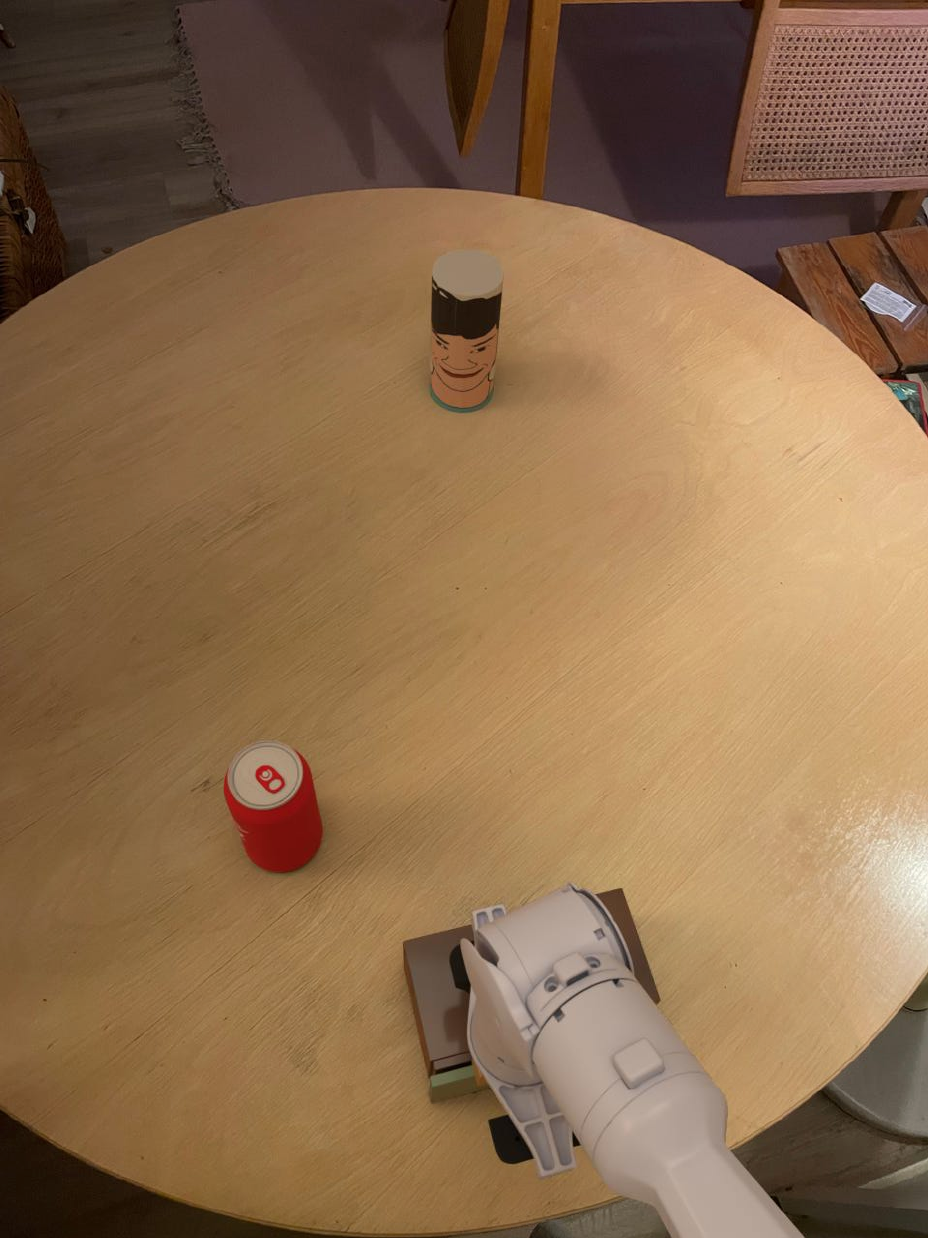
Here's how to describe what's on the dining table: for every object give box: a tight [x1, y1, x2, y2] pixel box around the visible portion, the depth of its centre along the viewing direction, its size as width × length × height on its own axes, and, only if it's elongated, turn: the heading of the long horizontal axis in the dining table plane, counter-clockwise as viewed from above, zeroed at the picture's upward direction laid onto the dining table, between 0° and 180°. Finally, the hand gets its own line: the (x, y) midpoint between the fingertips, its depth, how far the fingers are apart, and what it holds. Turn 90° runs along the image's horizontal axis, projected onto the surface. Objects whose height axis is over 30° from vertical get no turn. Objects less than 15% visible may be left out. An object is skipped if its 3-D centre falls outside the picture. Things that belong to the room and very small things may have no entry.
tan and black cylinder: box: [429, 248, 505, 413], centre depth 103 cm, size 7×7×15 cm
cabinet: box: [402, 887, 661, 1080], centre depth 73 cm, size 9×16×7 cm, turn 104°
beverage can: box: [223, 739, 324, 873], centre depth 77 cm, size 6×6×12 cm
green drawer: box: [428, 1058, 491, 1105], centre depth 68 cm, size 2×8×10 cm, turn 105°
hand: (508, 1062), depth 66 cm, fingers open, 7 cm apart
